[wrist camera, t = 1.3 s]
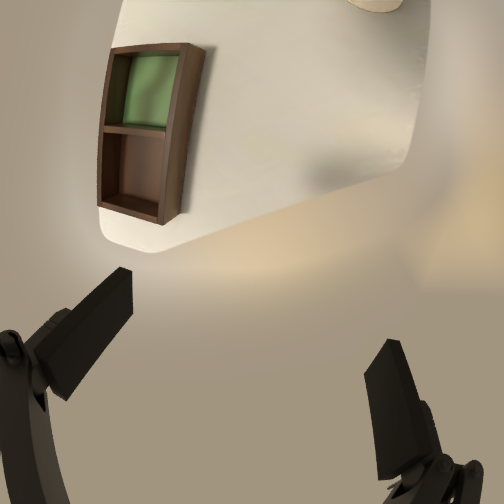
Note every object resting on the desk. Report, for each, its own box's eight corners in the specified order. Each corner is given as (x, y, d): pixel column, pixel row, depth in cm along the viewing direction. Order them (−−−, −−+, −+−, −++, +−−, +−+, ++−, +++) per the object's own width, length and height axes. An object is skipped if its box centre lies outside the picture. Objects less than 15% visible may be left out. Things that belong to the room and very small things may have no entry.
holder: (206, 50, 26) (188, 42, 22) (180, 213, 37) (163, 226, 33) (132, 52, 27) (110, 48, 23) (116, 196, 38) (97, 206, 34)
